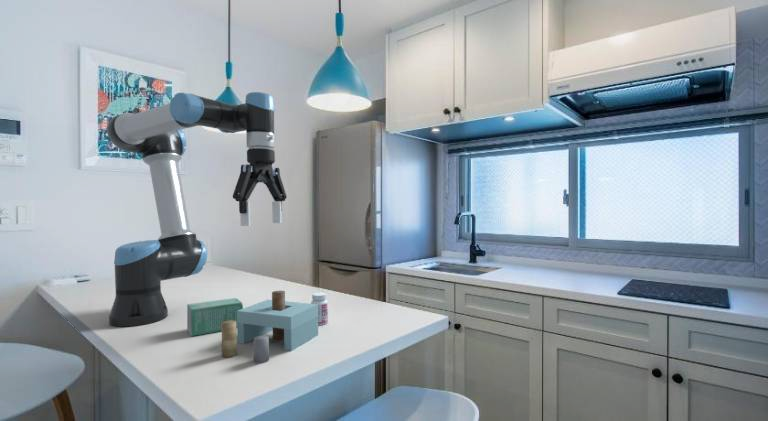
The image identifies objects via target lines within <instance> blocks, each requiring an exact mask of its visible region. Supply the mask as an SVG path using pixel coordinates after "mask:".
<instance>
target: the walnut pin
mask: <svg viewBox="0 0 768 421" xmlns="http://www.w3.org/2000/svg"><path fill="white" fill-rule="evenodd" d="M271 300H272V310H276V311H282V310H284V309H285V301H286V291H285V290H274V291H272V292H271ZM272 340H273V341H275V342H280V341H284V329H282V328H274V327H273V330H272Z"/></svg>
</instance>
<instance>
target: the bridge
mask: <svg viewBox="0 0 768 421" xmlns="http://www.w3.org/2000/svg"><path fill="white" fill-rule="evenodd" d="M273 327H274V328H282V329H284V340H283V341H284V342H283V343H284V344H283V348H284V351H289V352H290V351H294V350H296V349H297V348H299V347H301V346H302V345H304V344H305V343H307V342H309V341H310V340H312V339H314V338H315V337H317V336H319V325H318V304H311V303H305V302H298V301H297V302H295V301H286V300H285V309H284V310H282V311H276V310H272V299H266V300H263V301H260V302H258V303H254V304H252V305H249V306H247V307H243V309H241V310H238V311H237V344H242V345H243V344H246V343H249V342H250V341H252V340H253V341H254V338H255V337H257V336H264V335H265V334H267V333H269V332H272V331H273Z"/></svg>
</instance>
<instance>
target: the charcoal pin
mask: <svg viewBox="0 0 768 421" xmlns="http://www.w3.org/2000/svg"><path fill="white" fill-rule="evenodd" d="M269 338H270V337H269V336H268V335H261V336H257V337H255V338H254V339H253V362H254V363H255V364H265V363H267V362H269V361H270V344H269V342H270V339H269Z"/></svg>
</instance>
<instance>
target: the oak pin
mask: <svg viewBox="0 0 768 421" xmlns="http://www.w3.org/2000/svg"><path fill="white" fill-rule="evenodd" d="M221 328H222V331H221V356H222V357H221V358H224V359H225V358H226V359H228V358H229V359H230V358H234V357H236V356H237V355H238V339H237V327H236V321H225V322H222V323H221Z"/></svg>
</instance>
